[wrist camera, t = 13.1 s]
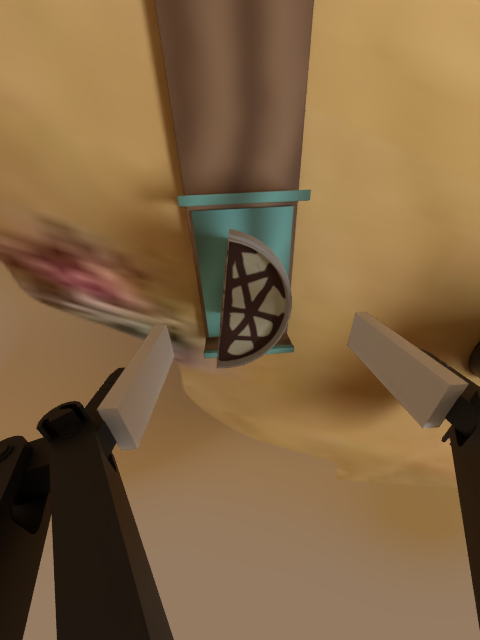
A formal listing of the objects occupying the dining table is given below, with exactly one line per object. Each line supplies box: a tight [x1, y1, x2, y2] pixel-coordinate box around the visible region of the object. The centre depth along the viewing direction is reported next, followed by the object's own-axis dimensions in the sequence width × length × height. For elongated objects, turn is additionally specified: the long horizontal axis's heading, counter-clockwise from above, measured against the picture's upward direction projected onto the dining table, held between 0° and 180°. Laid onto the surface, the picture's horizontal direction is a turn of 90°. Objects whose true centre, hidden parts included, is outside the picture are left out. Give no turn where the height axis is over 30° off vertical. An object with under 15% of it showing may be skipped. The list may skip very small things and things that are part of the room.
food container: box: [217, 229, 292, 368], centre depth 20 cm, size 12×6×10 cm, turn 173°
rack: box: [155, 0, 314, 358], centre depth 20 cm, size 12×36×5 cm, turn 3°
